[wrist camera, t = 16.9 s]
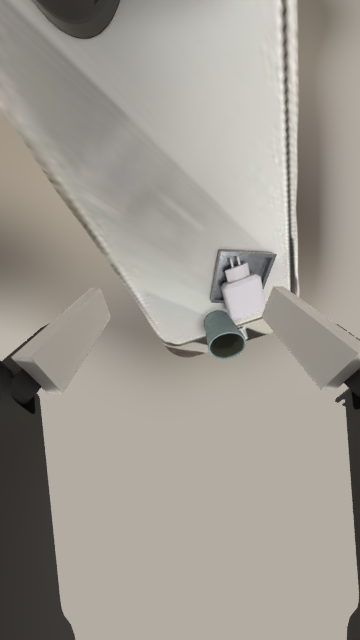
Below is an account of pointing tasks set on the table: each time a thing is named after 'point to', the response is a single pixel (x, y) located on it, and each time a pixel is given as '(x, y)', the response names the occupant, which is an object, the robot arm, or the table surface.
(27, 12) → the table surface
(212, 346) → the green cup
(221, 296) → the gray square tray
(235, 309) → the charger
